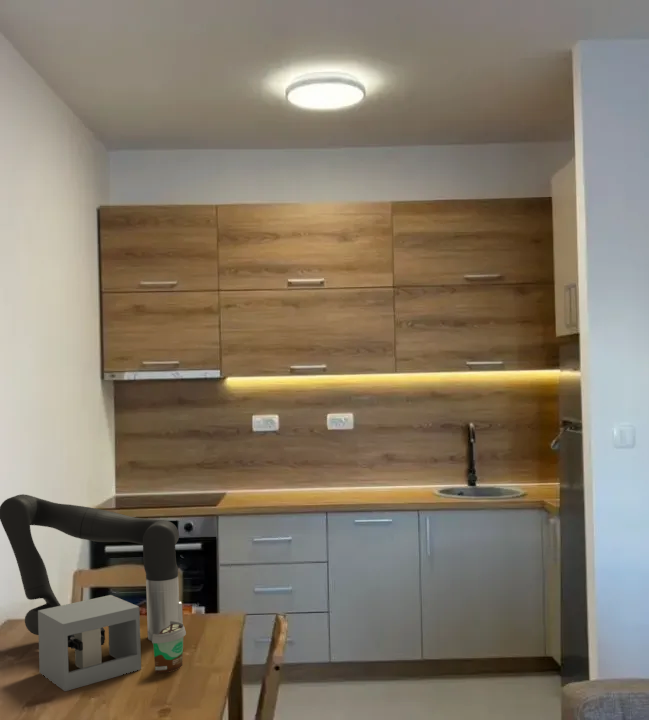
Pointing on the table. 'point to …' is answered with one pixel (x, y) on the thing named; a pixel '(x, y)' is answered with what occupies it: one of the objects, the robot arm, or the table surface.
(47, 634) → the open box frame
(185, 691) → the table surface
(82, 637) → the cream block
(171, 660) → the food container
